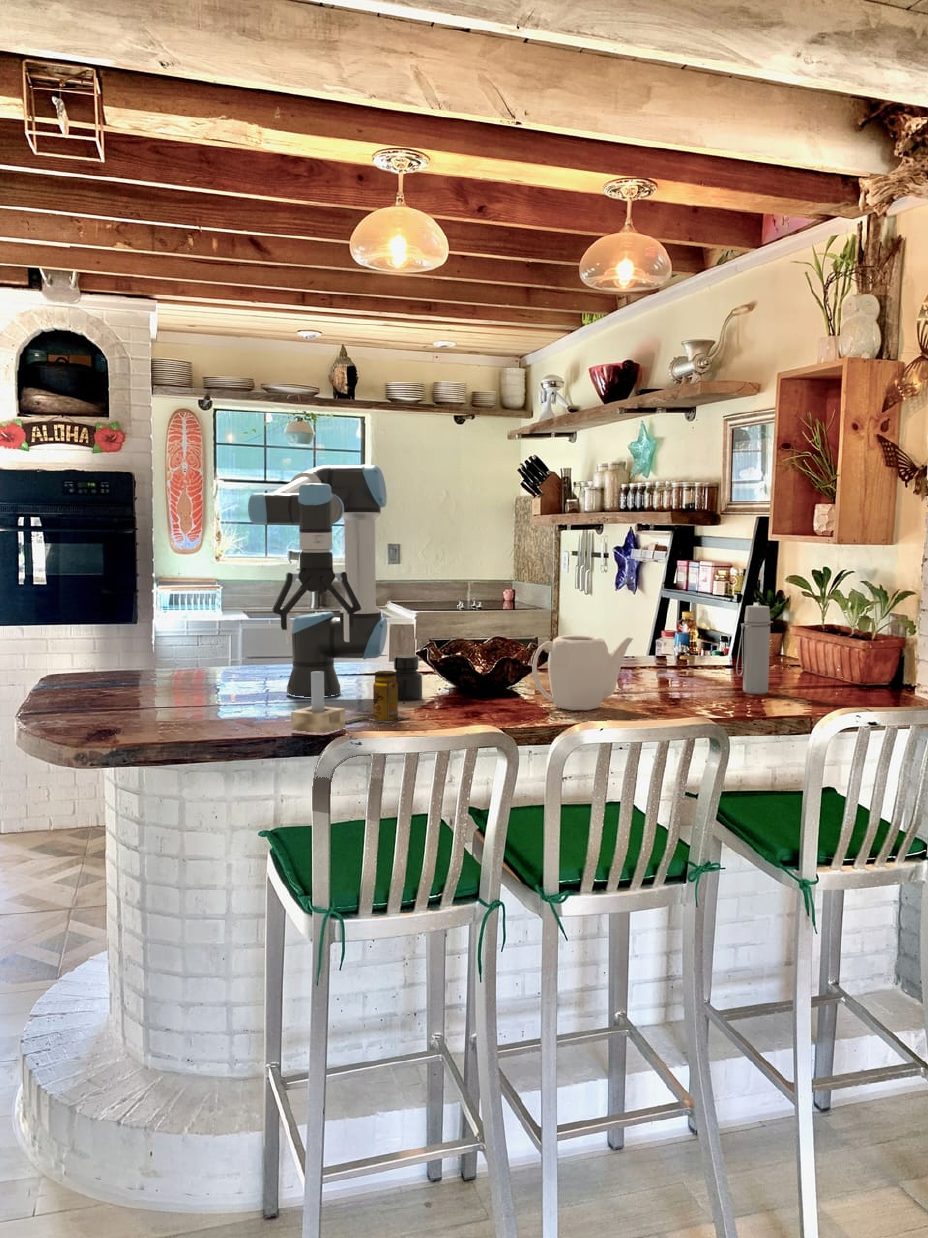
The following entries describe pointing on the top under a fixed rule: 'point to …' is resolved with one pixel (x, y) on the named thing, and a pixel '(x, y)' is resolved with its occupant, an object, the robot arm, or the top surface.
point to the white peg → (317, 691)
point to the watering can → (580, 671)
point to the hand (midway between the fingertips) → (317, 642)
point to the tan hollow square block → (318, 720)
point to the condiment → (385, 697)
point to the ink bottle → (408, 677)
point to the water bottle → (755, 649)
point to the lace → (355, 719)
